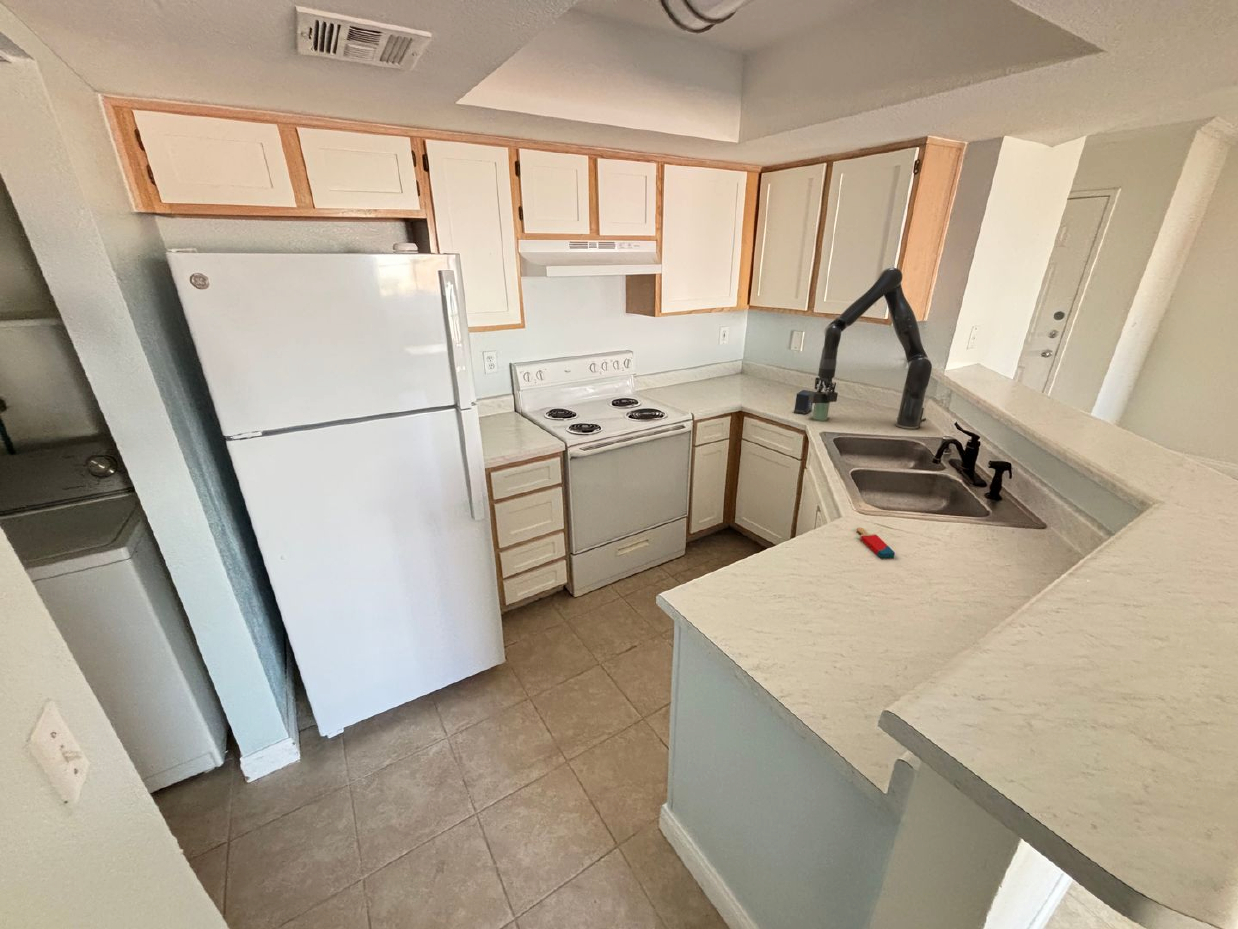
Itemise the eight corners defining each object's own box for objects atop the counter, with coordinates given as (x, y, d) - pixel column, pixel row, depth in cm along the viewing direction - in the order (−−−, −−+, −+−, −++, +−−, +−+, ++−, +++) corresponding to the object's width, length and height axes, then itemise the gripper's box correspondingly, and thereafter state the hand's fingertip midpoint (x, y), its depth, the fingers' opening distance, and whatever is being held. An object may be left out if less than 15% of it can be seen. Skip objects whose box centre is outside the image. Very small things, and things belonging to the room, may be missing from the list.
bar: (831, 399, 253) (833, 390, 251) (836, 401, 249) (837, 392, 247) (808, 401, 250) (809, 392, 249) (812, 403, 247) (814, 394, 245)
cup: (822, 416, 257) (824, 399, 253) (829, 420, 251) (832, 402, 247) (810, 417, 256) (812, 400, 252) (817, 421, 249) (820, 403, 246)
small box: (805, 414, 260) (808, 395, 256) (793, 412, 264) (795, 393, 260) (812, 410, 268) (815, 391, 264) (800, 408, 271) (802, 389, 267)
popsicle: (866, 525, 147) (896, 552, 134) (865, 530, 148) (895, 557, 134) (851, 526, 147) (880, 553, 133) (850, 530, 148) (879, 558, 134)
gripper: (843, 369, 238) (838, 403, 244) (825, 364, 251) (821, 396, 257) (829, 370, 236) (824, 404, 242) (812, 364, 249) (807, 397, 255)
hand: (822, 400), depth 250 cm, fingers open, 6 cm apart
